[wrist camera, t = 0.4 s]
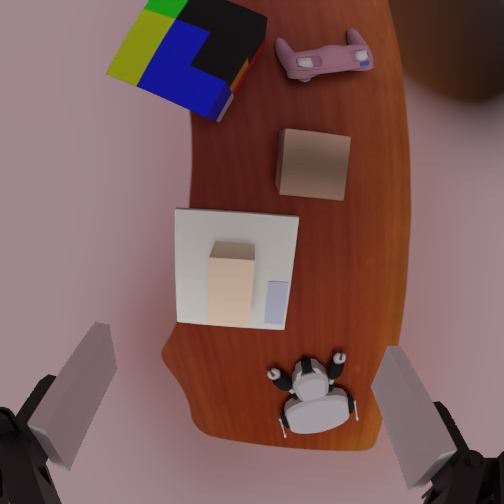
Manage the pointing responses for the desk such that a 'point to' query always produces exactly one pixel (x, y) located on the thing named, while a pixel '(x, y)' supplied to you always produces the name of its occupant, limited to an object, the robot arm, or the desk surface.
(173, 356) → the desk surface
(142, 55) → the puzzle toy
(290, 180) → the walnut block
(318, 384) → the robot toy
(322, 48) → the video game controller
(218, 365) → the desk surface
